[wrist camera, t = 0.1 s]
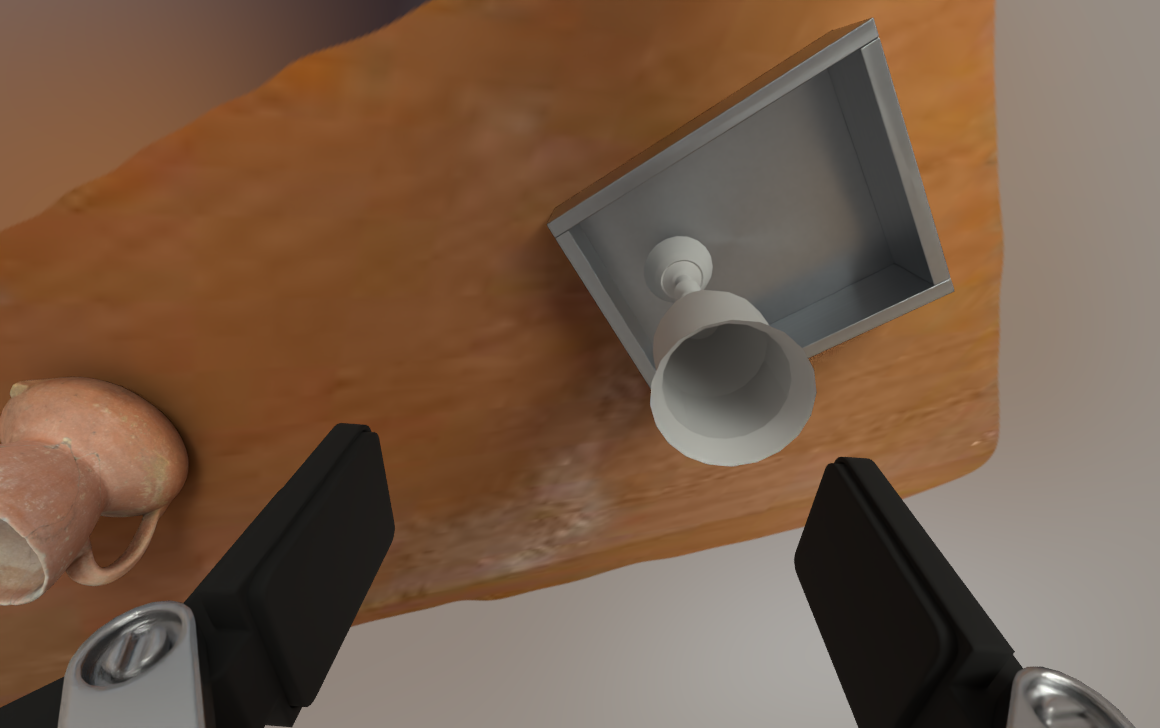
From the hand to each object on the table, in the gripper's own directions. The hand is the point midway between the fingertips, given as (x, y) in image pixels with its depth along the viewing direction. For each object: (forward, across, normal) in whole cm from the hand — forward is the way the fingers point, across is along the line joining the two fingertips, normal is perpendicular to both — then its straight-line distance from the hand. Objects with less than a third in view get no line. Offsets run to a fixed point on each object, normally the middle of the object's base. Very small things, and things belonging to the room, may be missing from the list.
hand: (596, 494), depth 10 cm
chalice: (+28, -6, +3) cm, 29 cm away
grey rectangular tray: (+28, -9, +1) cm, 30 cm away
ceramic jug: (+28, +44, +23) cm, 57 cm away
